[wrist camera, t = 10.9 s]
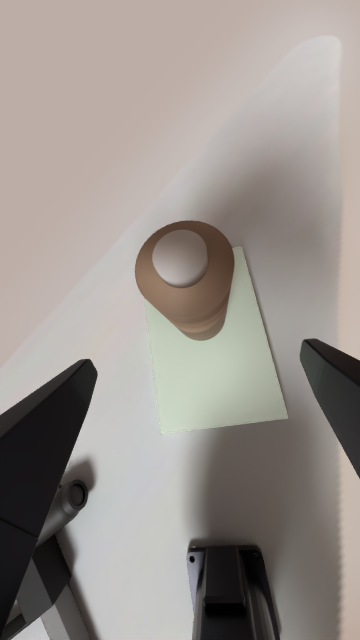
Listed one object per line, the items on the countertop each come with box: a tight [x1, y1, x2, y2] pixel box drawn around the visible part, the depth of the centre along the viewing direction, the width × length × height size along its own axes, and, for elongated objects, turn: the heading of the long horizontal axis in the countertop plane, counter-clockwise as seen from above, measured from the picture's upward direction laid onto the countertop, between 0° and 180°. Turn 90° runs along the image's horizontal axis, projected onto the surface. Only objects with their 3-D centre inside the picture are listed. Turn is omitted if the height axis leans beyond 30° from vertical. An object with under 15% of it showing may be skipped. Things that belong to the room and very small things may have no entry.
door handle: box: [0, 480, 91, 640], centre depth 18 cm, size 3×20×16 cm
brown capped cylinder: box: [135, 221, 235, 341], centre depth 15 cm, size 5×5×12 cm
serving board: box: [144, 246, 289, 434], centre depth 21 cm, size 18×12×1 cm, turn 9°
